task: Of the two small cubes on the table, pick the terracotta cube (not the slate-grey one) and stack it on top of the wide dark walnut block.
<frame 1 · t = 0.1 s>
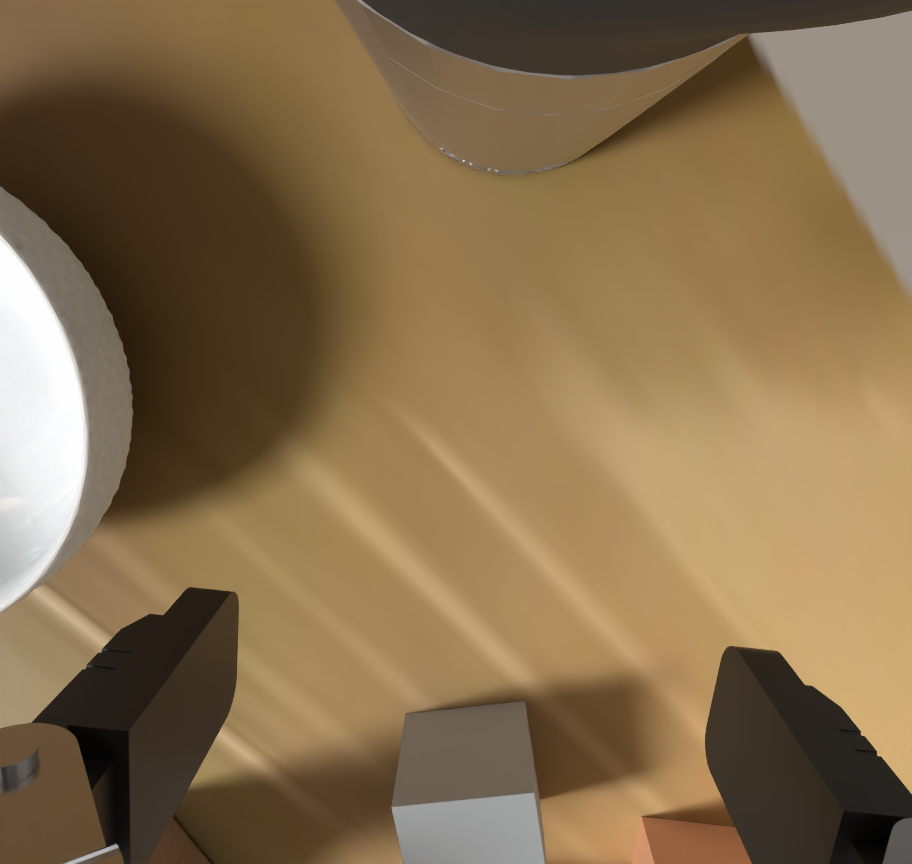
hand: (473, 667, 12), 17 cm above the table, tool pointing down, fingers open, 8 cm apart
slate cube: (473, 756, 33), on the table
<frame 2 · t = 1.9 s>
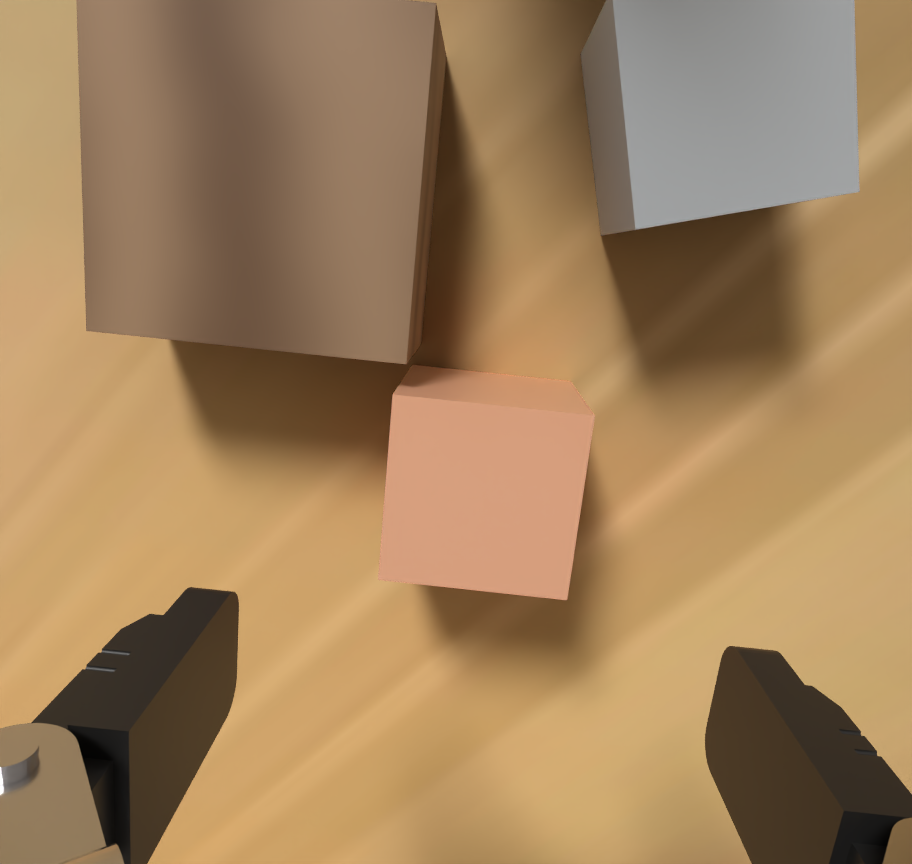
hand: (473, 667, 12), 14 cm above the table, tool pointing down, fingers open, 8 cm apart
walnut base block: (299, 193, 23), on the table
slate cube: (677, 132, 22), on the table
terracotta cube: (482, 448, 25), on the table
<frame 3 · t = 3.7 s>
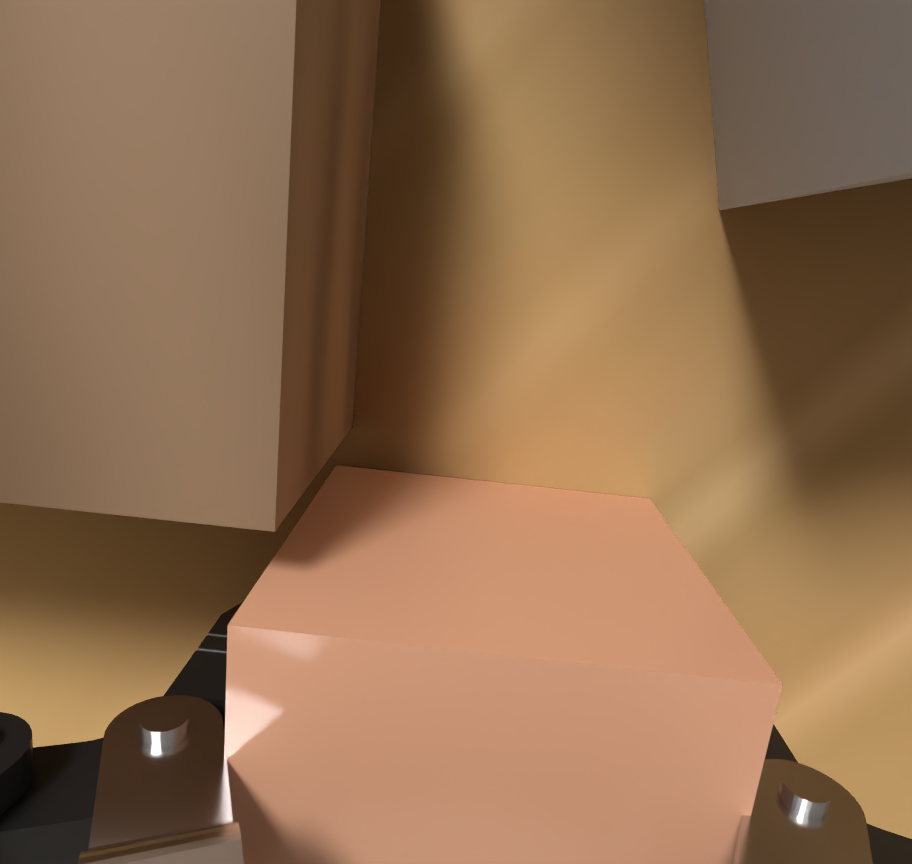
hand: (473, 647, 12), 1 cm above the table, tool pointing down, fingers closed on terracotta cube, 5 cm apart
walnut base block: (94, 123, 11), on the table
terracotta cube: (475, 623, 13), on the table, touching gripper
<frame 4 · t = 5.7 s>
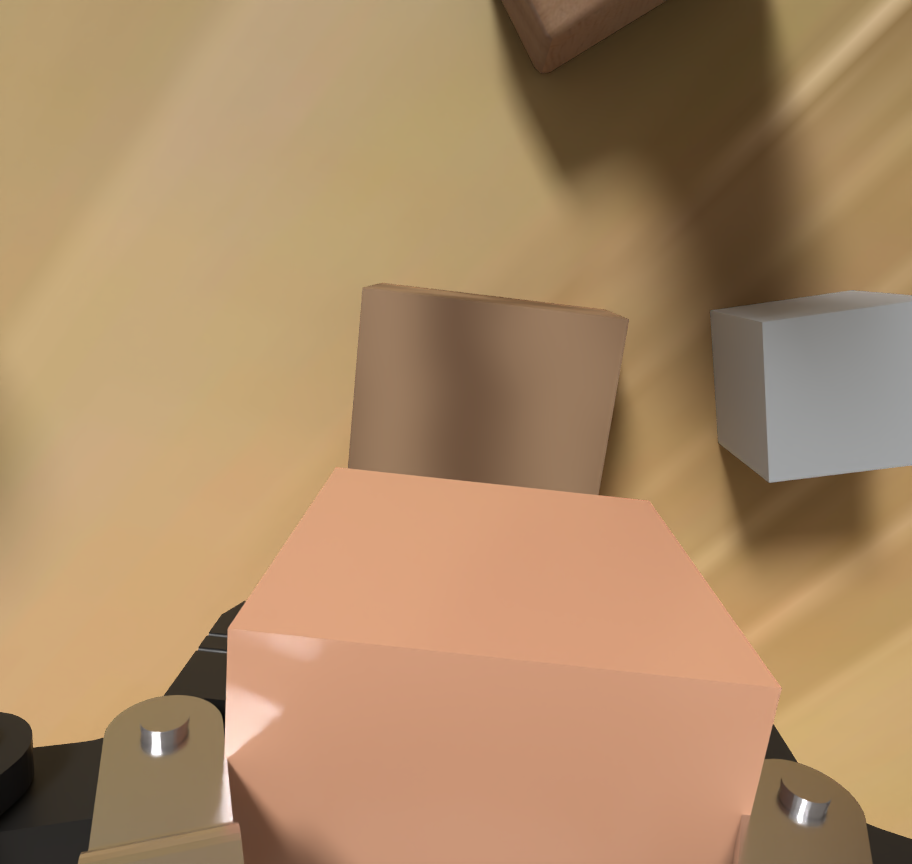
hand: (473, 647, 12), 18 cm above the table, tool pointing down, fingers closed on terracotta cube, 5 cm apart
walnut base block: (479, 404, 30), on the table
slate cube: (782, 368, 29), on the table
terracotta cube: (475, 625, 13), point 17 cm above the table, touching gripper
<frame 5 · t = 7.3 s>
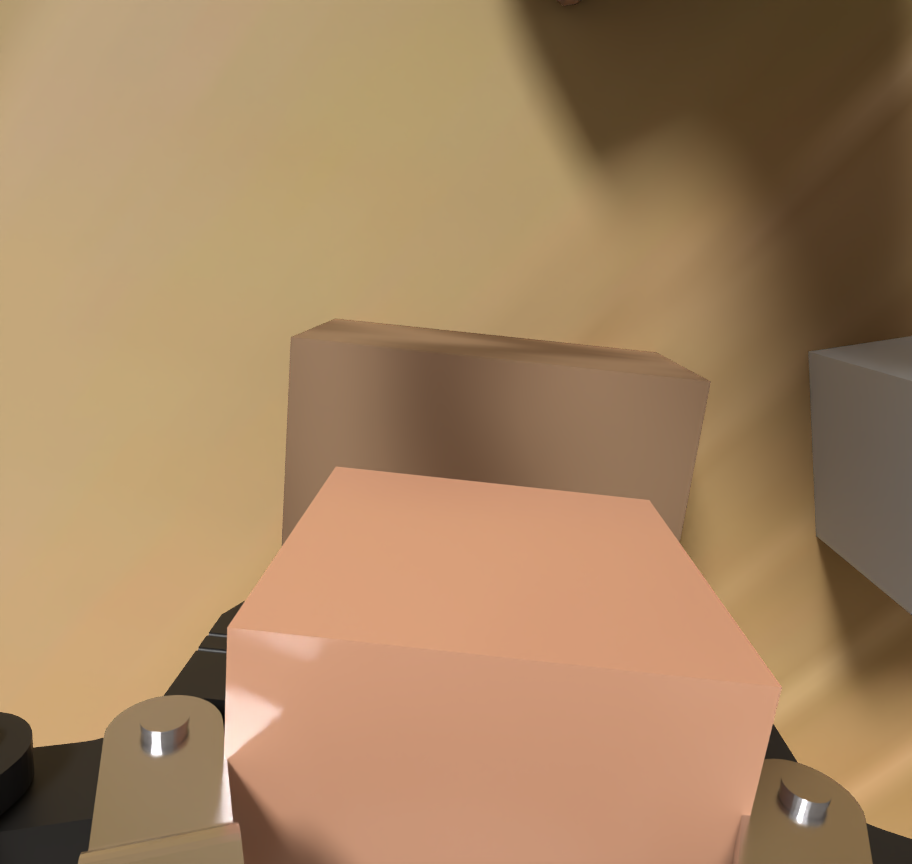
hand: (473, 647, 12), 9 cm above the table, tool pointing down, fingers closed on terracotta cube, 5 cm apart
walnut base block: (478, 485, 21), on the table
slate cube: (910, 431, 20), on the table
terracotta cube: (475, 624, 13), point 8 cm above the table, touching gripper
when the fingers open (7 cm above the table, at t = 8.2 s): terracotta cube drops 1 cm, resting on walnut base block.
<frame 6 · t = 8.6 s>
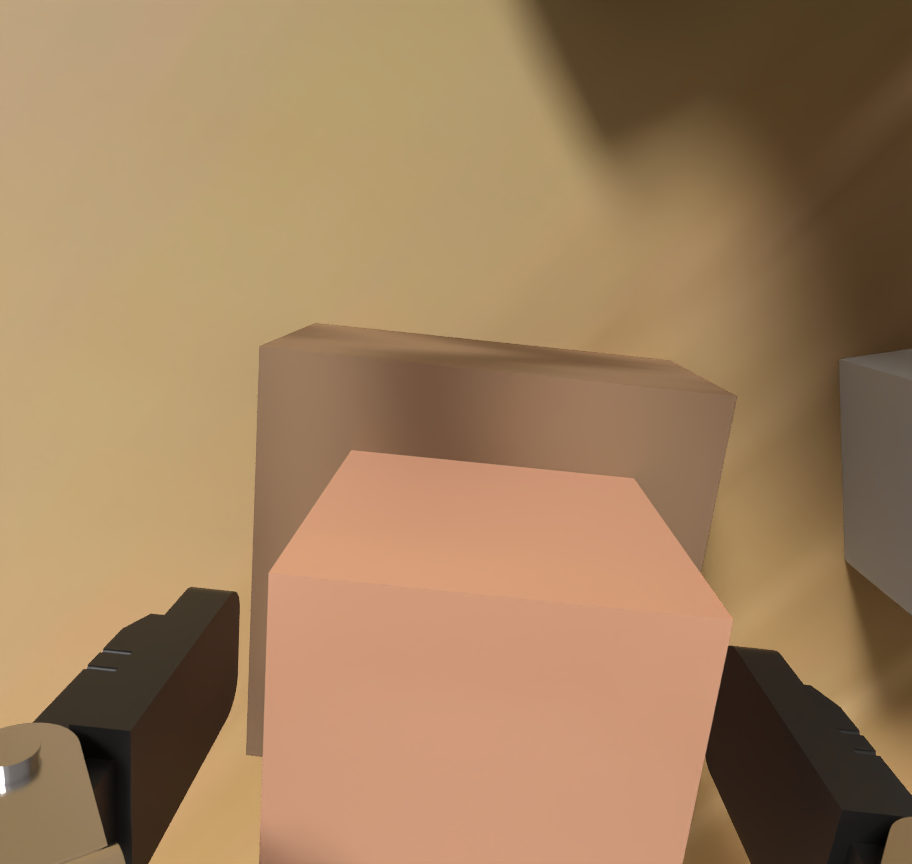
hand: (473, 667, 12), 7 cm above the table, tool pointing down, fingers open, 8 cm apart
walnut base block: (473, 505, 19), on the table, touching terracotta cube
terracotta cube: (477, 593, 14), point 5 cm above the table, touching walnut base block
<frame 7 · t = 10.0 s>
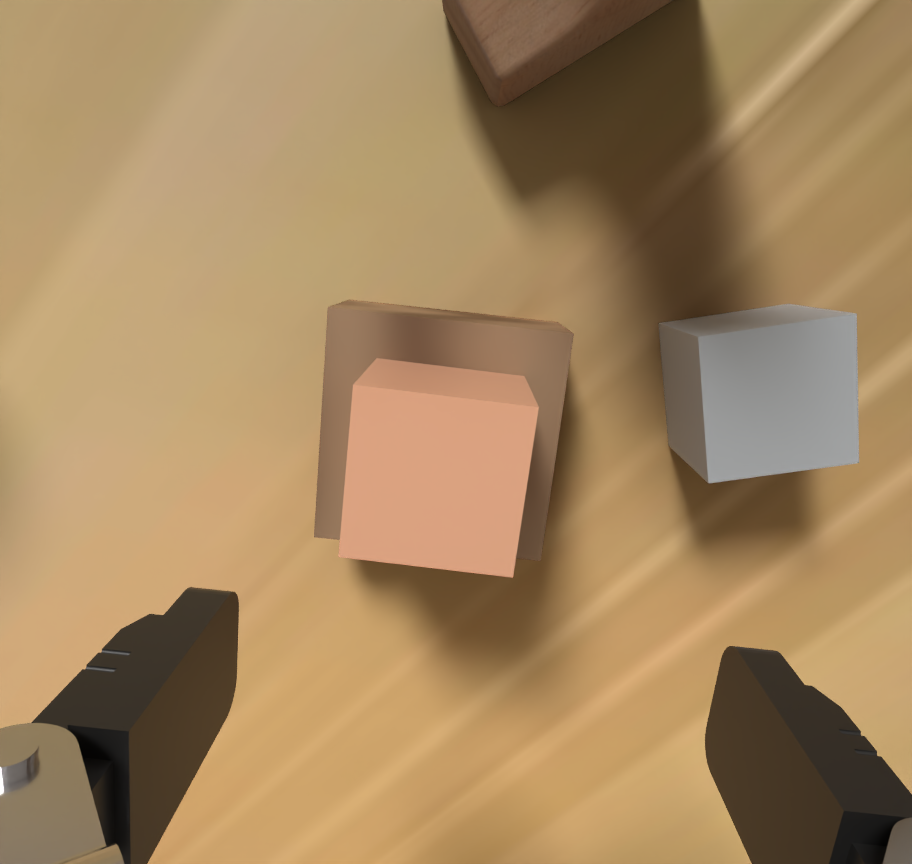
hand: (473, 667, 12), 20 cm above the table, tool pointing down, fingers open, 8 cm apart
walnut base block: (443, 411, 32), on the table, touching terracotta cube
slate cube: (726, 376, 31), on the table
terracotta cube: (442, 438, 27), point 5 cm above the table, touching walnut base block
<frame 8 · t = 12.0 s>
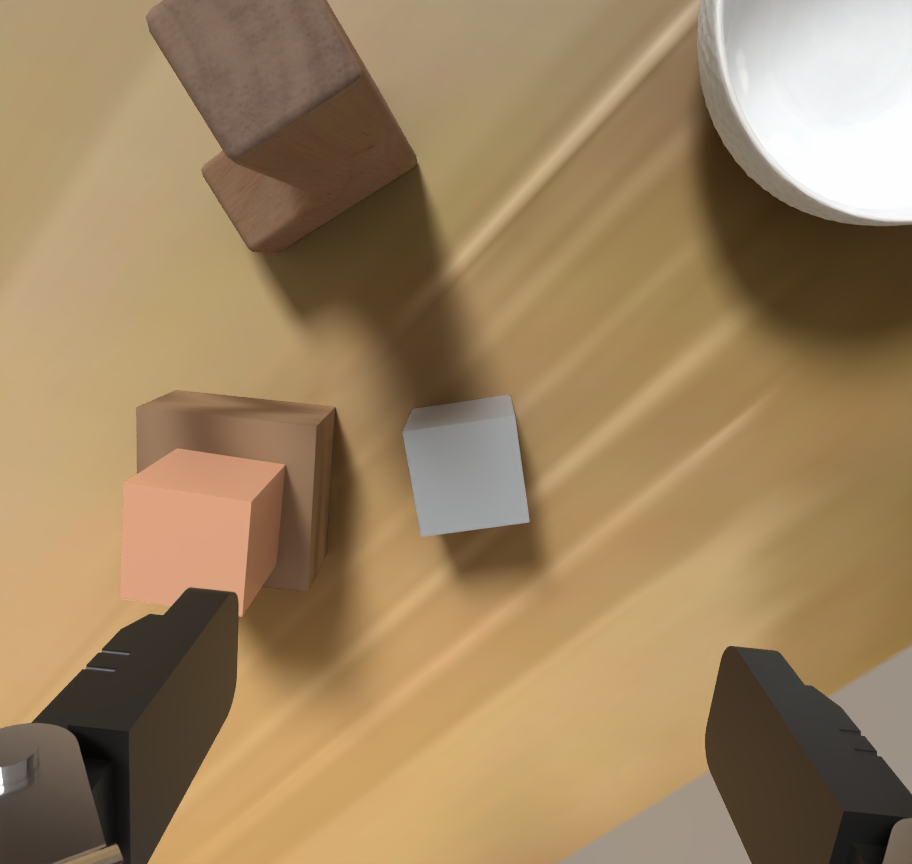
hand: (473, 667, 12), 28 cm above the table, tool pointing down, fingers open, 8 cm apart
walnut base block: (254, 473, 41), on the table, touching terracotta cube
cereal bowl: (838, 53, 35), on the table
slate cube: (468, 448, 40), on the table
terracotta cube: (227, 507, 36), point 5 cm above the table, touching walnut base block
wooden block: (324, 171, 37), on the table
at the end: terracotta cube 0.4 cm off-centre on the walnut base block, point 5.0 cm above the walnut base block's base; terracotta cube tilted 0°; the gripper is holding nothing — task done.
